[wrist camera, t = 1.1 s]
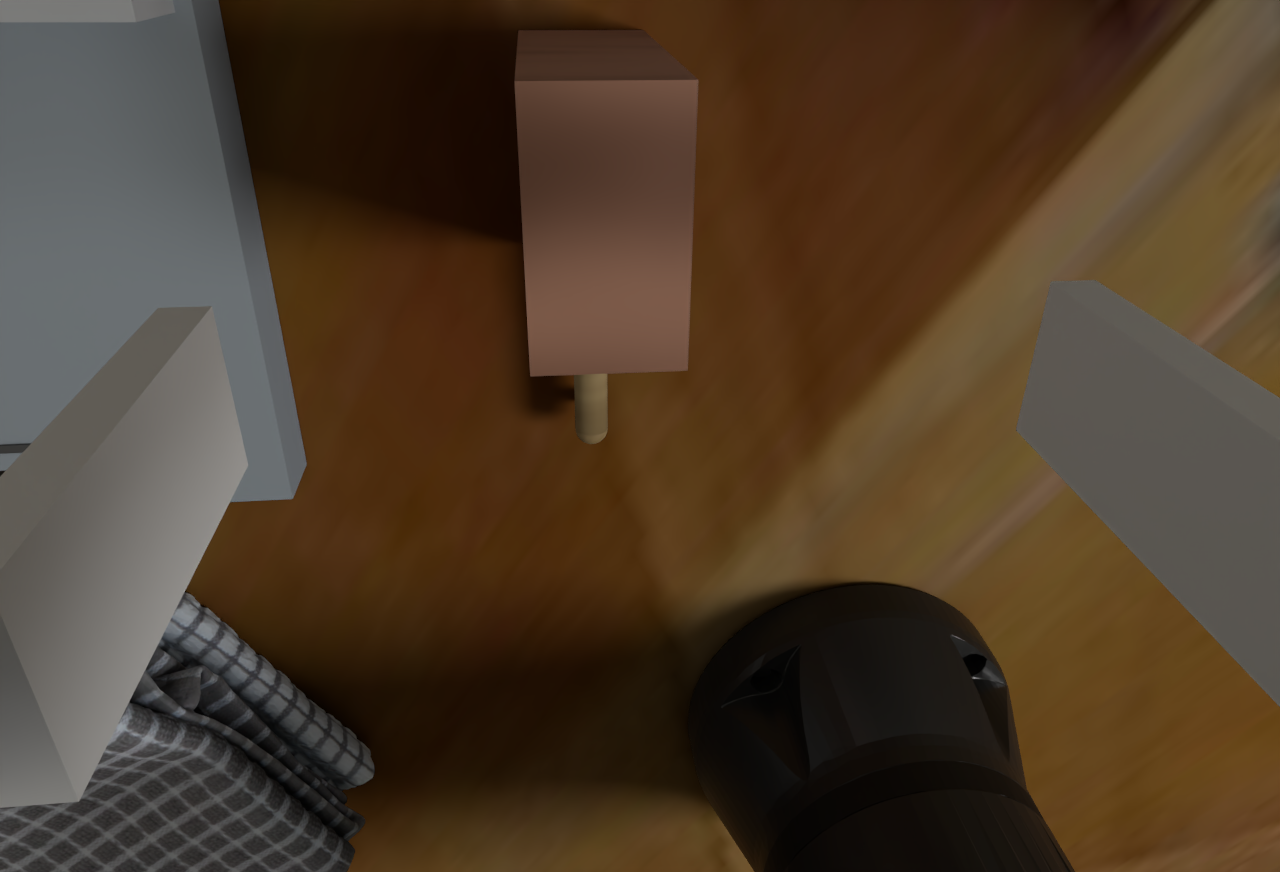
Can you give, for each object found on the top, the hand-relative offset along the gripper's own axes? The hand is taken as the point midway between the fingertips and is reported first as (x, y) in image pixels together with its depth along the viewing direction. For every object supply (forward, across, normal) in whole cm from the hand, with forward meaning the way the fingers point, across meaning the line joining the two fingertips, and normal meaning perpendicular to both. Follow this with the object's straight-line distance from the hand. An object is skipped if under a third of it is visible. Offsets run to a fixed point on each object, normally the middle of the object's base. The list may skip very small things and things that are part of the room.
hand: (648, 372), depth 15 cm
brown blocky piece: (+19, 0, +4) cm, 19 cm away
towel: (+19, +21, +27) cm, 39 cm away
